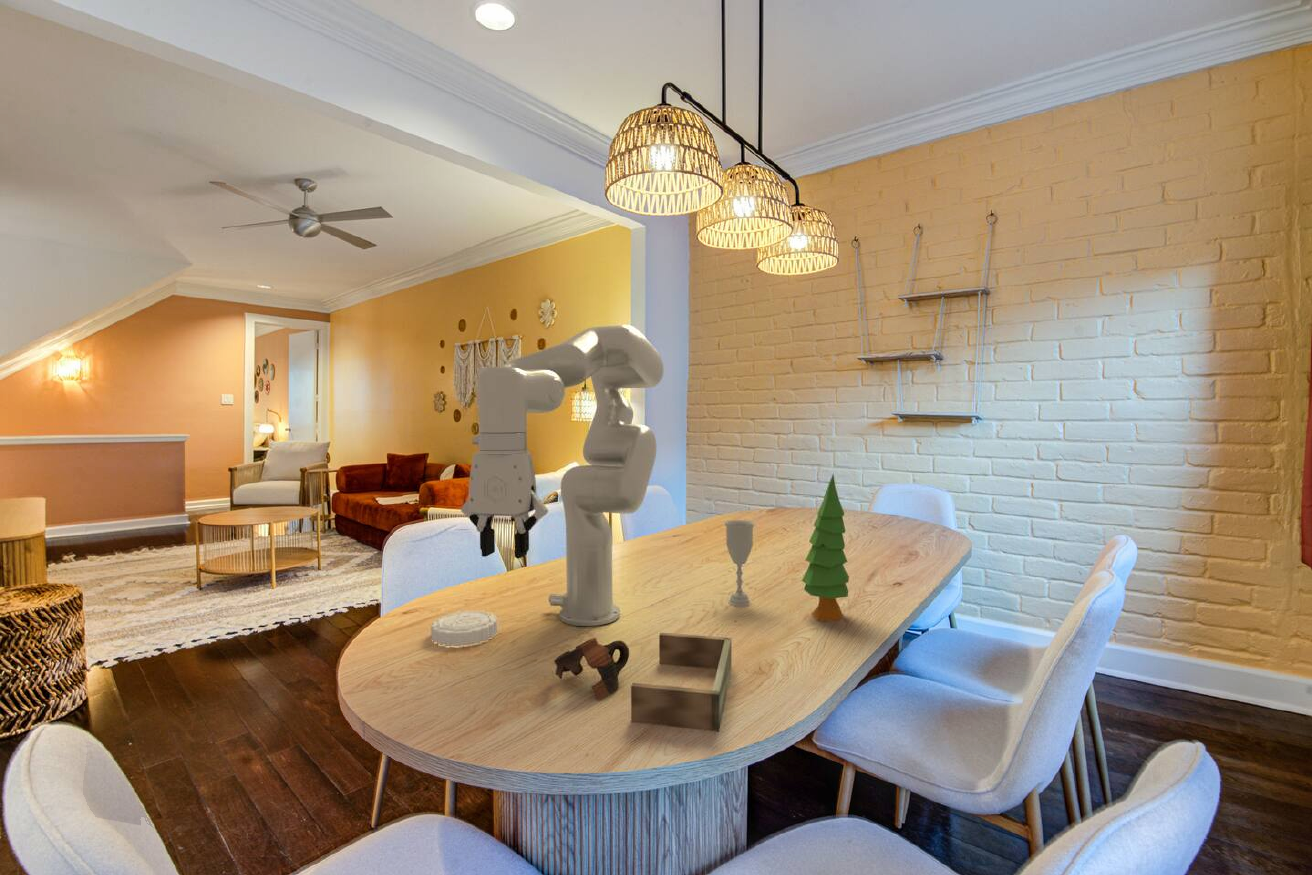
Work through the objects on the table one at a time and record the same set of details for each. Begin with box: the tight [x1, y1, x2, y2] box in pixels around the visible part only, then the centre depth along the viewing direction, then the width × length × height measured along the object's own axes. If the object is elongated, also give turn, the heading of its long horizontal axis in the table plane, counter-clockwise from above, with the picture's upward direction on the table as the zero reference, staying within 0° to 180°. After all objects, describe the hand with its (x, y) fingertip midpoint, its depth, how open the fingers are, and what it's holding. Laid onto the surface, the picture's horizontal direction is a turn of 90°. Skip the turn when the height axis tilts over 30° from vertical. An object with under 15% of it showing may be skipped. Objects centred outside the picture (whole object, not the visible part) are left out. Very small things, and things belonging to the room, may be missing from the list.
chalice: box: [723, 519, 756, 608], centre depth 130 cm, size 7×7×18 cm
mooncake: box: [430, 610, 498, 646], centre depth 111 cm, size 12×12×4 cm
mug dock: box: [630, 632, 732, 732], centre depth 88 cm, size 12×20×5 cm, turn 168°
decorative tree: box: [801, 473, 850, 622], centre depth 121 cm, size 10×9×30 cm
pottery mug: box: [553, 637, 630, 701], centre depth 91 cm, size 12×10×8 cm
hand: (504, 554), depth 95 cm, fingers open, 5 cm apart
